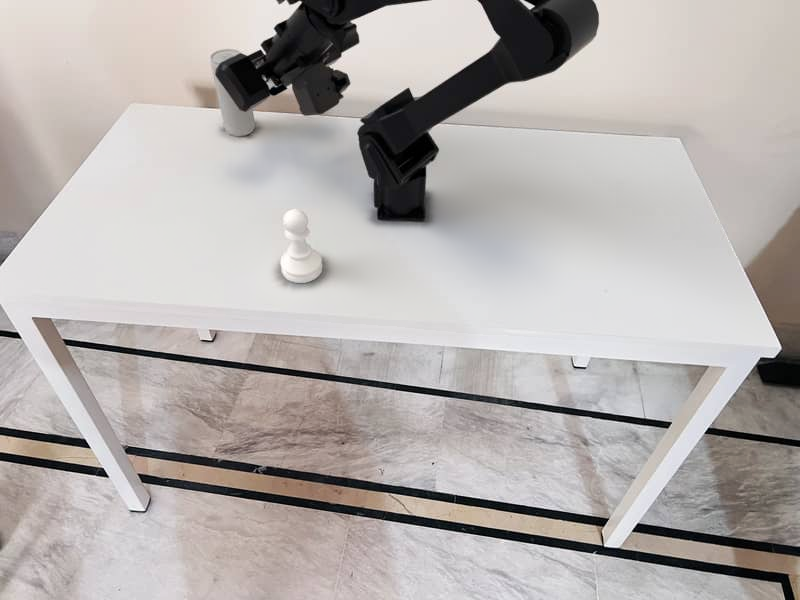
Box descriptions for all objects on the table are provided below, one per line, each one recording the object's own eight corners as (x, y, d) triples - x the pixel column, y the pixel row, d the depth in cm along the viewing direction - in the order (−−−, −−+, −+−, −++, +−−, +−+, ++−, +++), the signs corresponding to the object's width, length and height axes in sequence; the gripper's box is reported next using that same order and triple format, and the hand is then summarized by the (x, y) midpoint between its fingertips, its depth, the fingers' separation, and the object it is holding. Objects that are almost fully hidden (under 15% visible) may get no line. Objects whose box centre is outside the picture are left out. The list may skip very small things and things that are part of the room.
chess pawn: (329, 273, 75) (324, 216, 68) (293, 289, 73) (283, 232, 66) (311, 250, 77) (304, 193, 71) (275, 265, 76) (264, 207, 69)
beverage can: (218, 131, 96) (202, 57, 87) (240, 118, 99) (226, 45, 90) (241, 141, 94) (226, 66, 86) (262, 127, 97) (250, 54, 88)
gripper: (294, 122, 72) (244, 166, 85) (389, 64, 83) (332, 112, 95) (236, 37, 69) (193, 96, 82) (342, -11, 80) (289, 48, 92)
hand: (257, 89), depth 88 cm, fingers closed
